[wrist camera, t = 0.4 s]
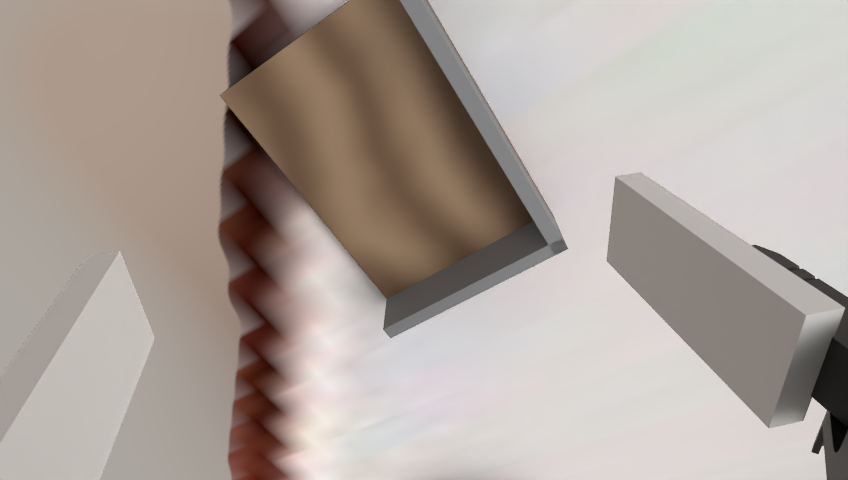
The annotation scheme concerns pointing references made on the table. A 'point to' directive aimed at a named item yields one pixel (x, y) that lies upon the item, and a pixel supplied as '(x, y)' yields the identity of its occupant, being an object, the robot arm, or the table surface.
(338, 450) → the table surface
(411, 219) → the pen base
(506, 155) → the pen walls
